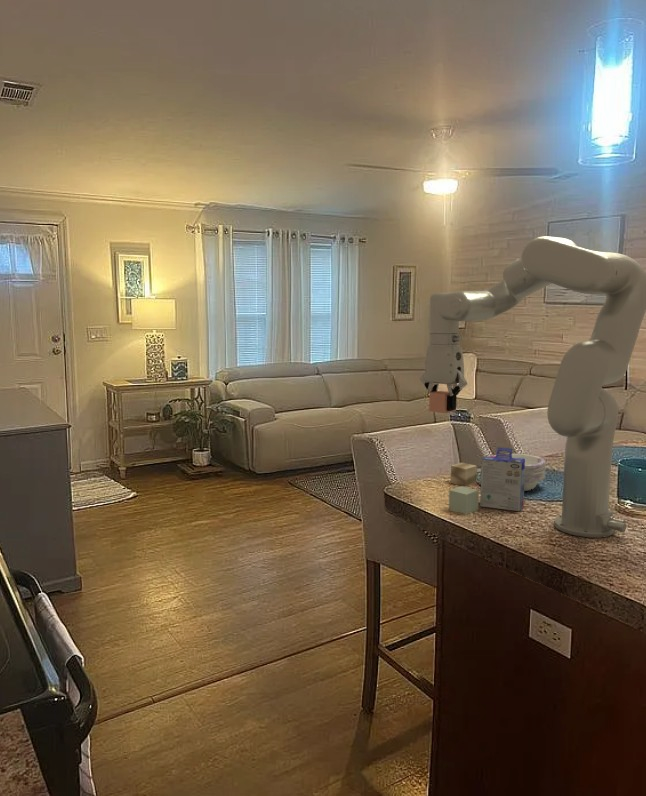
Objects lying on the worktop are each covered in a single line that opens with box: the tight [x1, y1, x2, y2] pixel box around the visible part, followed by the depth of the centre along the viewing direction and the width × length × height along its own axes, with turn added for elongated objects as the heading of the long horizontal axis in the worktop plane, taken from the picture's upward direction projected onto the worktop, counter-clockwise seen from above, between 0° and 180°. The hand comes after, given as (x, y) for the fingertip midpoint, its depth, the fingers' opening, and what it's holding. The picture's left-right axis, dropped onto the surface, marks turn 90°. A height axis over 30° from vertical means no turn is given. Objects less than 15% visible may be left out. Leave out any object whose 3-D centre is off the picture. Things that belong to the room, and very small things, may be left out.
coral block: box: [428, 390, 457, 414], centre depth 167 cm, size 5×5×5 cm
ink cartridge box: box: [479, 447, 525, 512], centre depth 156 cm, size 10×6×14 cm, turn 65°
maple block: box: [450, 462, 477, 487], centre depth 177 cm, size 5×5×5 cm
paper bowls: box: [492, 453, 547, 492], centre depth 172 cm, size 15×15×8 cm
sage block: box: [448, 485, 480, 515], centre depth 154 cm, size 5×5×5 cm
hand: (442, 408), depth 167 cm, fingers closed on coral block, 4 cm apart
